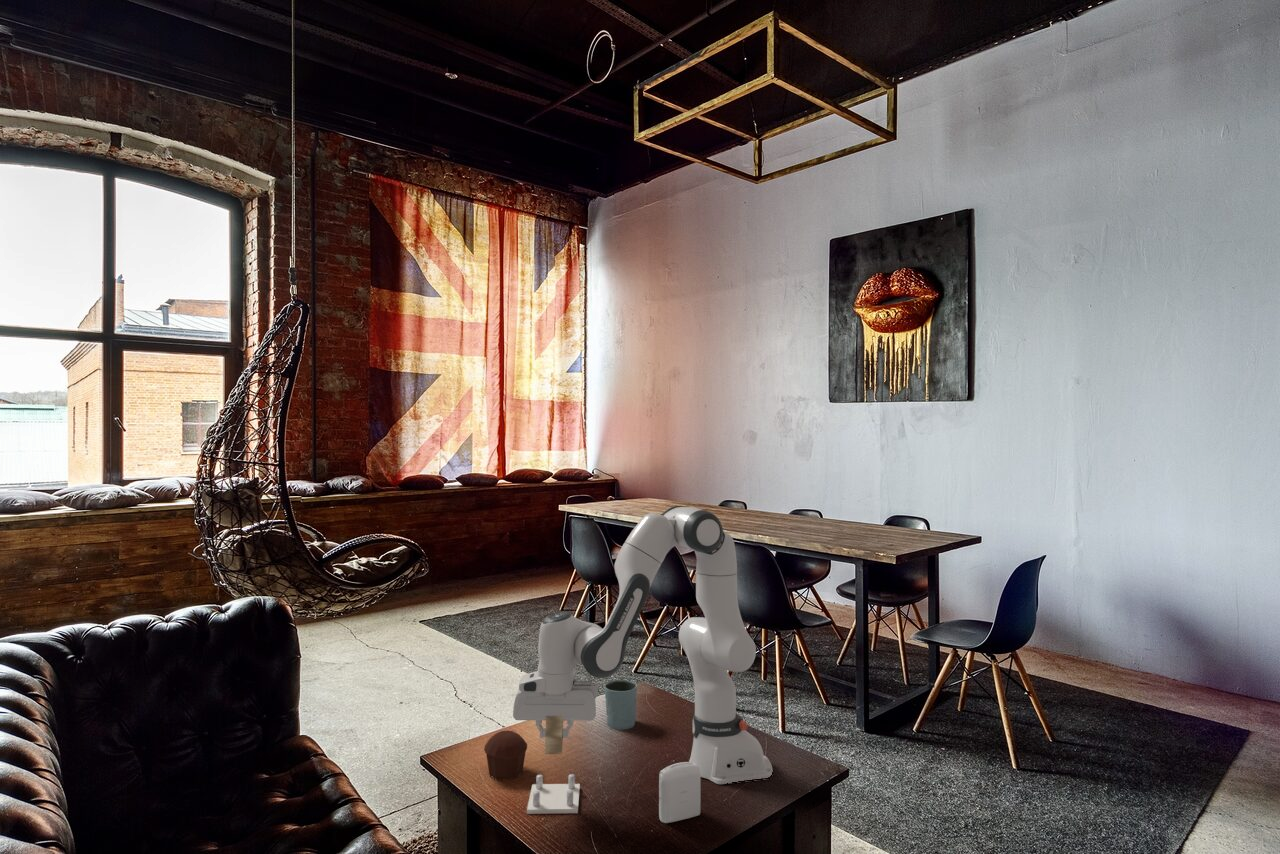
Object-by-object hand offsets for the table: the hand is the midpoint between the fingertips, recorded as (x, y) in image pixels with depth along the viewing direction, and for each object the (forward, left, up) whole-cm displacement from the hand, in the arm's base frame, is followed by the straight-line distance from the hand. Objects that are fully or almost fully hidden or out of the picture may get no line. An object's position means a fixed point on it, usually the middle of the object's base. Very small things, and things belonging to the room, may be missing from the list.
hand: (554, 737), depth 173 cm
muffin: (+14, -15, -16) cm, 26 cm away
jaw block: (0, 0, -3) cm, 3 cm away
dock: (0, 0, -15) cm, 15 cm away
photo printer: (-30, +8, -16) cm, 35 cm away
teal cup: (-17, -45, -16) cm, 51 cm away
